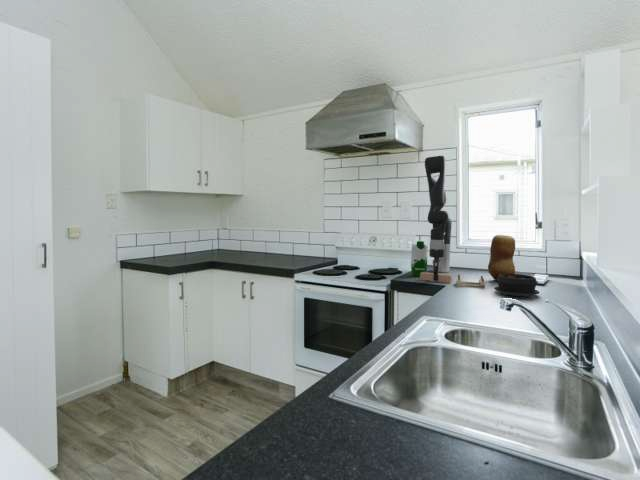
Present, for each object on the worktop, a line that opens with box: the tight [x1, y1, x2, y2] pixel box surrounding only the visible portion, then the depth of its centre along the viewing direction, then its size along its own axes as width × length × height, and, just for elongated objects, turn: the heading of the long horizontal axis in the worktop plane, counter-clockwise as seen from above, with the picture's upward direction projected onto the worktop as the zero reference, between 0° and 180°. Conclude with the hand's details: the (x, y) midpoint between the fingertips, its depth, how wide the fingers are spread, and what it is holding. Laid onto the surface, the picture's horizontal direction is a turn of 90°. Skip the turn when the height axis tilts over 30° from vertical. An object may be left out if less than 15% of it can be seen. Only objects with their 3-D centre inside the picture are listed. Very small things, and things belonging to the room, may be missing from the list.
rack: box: [456, 274, 486, 289], centre depth 201 cm, size 10×13×4 cm
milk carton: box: [410, 240, 428, 278], centre depth 228 cm, size 9×9×20 cm
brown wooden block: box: [419, 271, 453, 284], centre depth 213 cm, size 4×16×4 cm, turn 58°
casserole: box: [494, 273, 540, 298], centre depth 180 cm, size 25×19×8 cm
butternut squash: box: [487, 234, 516, 283], centre depth 213 cm, size 14×13×25 cm
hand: (435, 279), depth 213 cm, fingers closed on brown wooden block, 4 cm apart
